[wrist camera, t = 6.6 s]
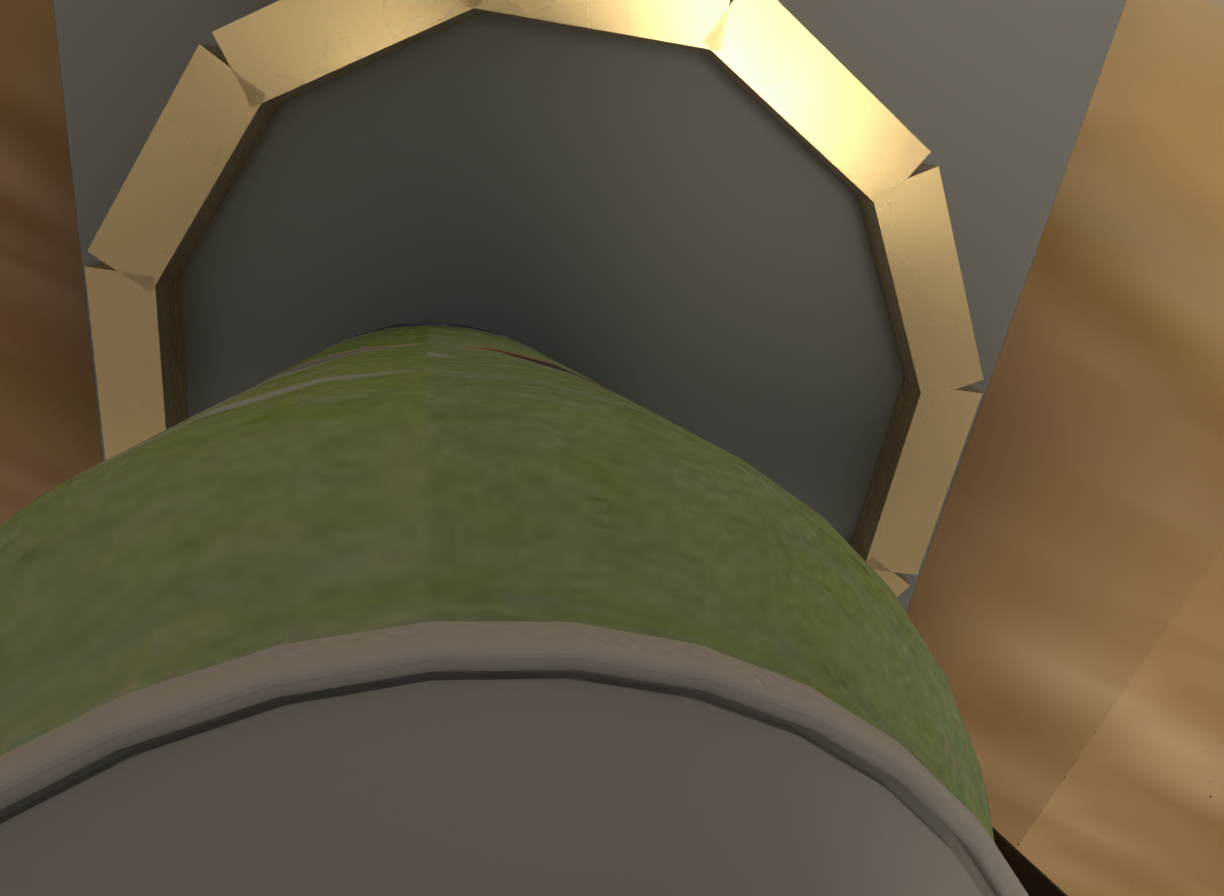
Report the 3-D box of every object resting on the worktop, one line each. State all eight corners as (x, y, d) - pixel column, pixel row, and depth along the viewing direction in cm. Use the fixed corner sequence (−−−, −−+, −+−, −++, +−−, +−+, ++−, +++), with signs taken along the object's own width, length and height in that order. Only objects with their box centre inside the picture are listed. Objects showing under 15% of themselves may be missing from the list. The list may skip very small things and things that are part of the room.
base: (777, 908, 21) (786, 946, 20) (171, 858, 19) (150, 895, 19) (1250, -468, 10) (1314, -522, 9) (21, -767, 9) (-43, -861, 8)
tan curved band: (777, 911, 19) (811, 1059, 16) (156, 860, 18) (73, 1009, 15) (1200, -315, 10) (1444, -478, 7) (8, -581, 9) (-272, -905, 6)
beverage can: (238, 617, 14) (-665, 2326, 3) (281, 186, 12) (-2391, 428, 1) (587, 653, 15) (874, 1918, 4) (679, 272, 13) (1722, 807, 2)
